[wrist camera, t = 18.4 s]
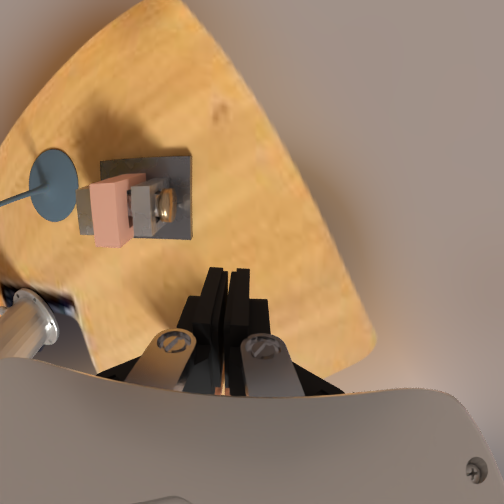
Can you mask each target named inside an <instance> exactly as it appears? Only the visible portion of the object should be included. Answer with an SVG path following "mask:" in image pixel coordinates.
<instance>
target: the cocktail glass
mask: <svg viewBox="0 0 504 504" xmlns="http://www.w3.org/2000/svg"><path fill="white" fill-rule="evenodd" d="M76 189H78V177H77V173H76V169H75V167H74V165H73V163H72V161H71V159H70V158H69V157H68V156H67V155H66V154H65V153H64V152H62V151H60V150H55V149H53V150H47V151H45V152H43V153H42V154H41V155H40V156H39V157H38V158H37V159H36V161H35V162H34V164H33V167H32V169H31V173H30V178H29V191H27V192H24V193H21V194H18V195H16V196H13V197H10V198H8V199H5V200H3V201H0V207H1V206H3V205H6V204H9V203H11V202H14V201H17V200H20V199H23V198H25V197H28V196H31V200H32V203H33V205H34V207H35V209H36V210H37V212H38V213H39V214H40V215H41V216H42V217H43V218H44V219H46V220H48V221H52V222H58V221H61V220H63V219H65V218H66V217H67V216H68V215H69V214H70V213H71V212H72V210H73V209H74V206H75V204H76V191H75V190H76Z"/></svg>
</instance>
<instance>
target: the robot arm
mask: <svg viewBox="0 0 504 504" xmlns="http://www.w3.org/2000/svg"><path fill="white" fill-rule="evenodd" d="M249 281H250V269H241V268H237V272H232V273H231V279H230V285H229V292H228V271H223V268H217V267H210V268H209V271H208V274H207V277H206V280H205V283H204V286H203V289H202V292H201V295H200V296H189V297H188V299H187V302H186V304H185V307H184V309H183V312H182V314H181V317H180V320H179V322H178V325H177V328H173V329H167V330H164V331H162V332H160V333H158V334H157V335H156V336H155V337H154V338H153V340H152V341H151V343H150V344H149V345H148V347H147V348H146V350H145V351H144V353H143V354H142V356H139V357H137V358H135V359H132V360H130V361H127V362H125V363H123V364H120V365H118V366H115V367H113V368H110V369H108V370H105V371H103V372H101V373H99V374H97V375H96V376H95V375H91V374H87V373H82V372H79V371H75V370H72V369H68V368H65V367H61V366H57V365H54V364H50V363H47V362H43V361H39V360H34V359H32V357H33V356H34V355H35V354H36V352H37V351H38V350H39V349H40V347H41V346H42V345H43V344H47V345H51V344H53V343H55V342H56V340H57V339H58V336H59V328H58V324H57V321H56V318H55V316H54V314H53V312H52V311H51V309H50V308H49V306H48V305H47V304H46V302H45V301H44V300H43V299H42V298H41V297H40V296H39V295H38V294H36V293H35V292H33V291H32V290H30V289H27V288H22V289H19V290H18V291H17V292H16V293H15V294H14V297H13V305H12V306H11V307H8V308H7V307H4V306H0V315H2V316H1V317H0V504H504V481H503V478H502V476H501V473H500V471H499V468H498V466H497V463H496V461H495V459H494V457H493V454H492V452H491V450H490V448H489V446H488V444H487V442H486V440H485V438H484V437H483V435H482V433H481V431H480V429H479V428H478V426H477V425H476V423H475V421H474V420H473V418H472V417H471V415H470V414H469V412H468V411H467V410H466V408H465V407H464V406H463V405H462V404H461V403H460V402H459V401H458V400H457V399H456V398H455V397H453V396H451V395H450V394H448V393H445V392H442V391H438V390H433V389H424V388H396V389H386V390H377V391H367V392H356V393H354V392H353V393H348V394H345V393H344V392H343V391H342V390H340V389H339V388H337V387H335V386H334V385H332V384H330V383H328V382H326V381H325V380H323V379H321V378H319V377H318V376H316V375H314V374H312V373H311V372H309V371H307V370H306V369H304V368H302V367H300V366H299V365H297V364H295V363H294V362H292V360H291V358H290V355H289V353H288V350H287V347H286V345H285V343H284V342H283V341H282V340H281V339H280V338H278V337H276V336H274V335H271V333H270V322H269V311H268V300H267V299H249ZM223 365H224V372H225V388H229V390H230V395H231V396H225V395H215V388H216V387H219V388H221V382H222V373H223Z"/></svg>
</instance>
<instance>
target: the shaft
mask: <svg viewBox="0 0 504 504" xmlns="http://www.w3.org/2000/svg"><path fill="white" fill-rule="evenodd" d="M127 207H128V216H132V202H131V194H127ZM176 211H177V196H176V191H175V189H174V188H163V189H162V190H161V192H160V194H155V213H156V216H159V218H160V220H161V222H173V221H174V219H175V216H176Z"/></svg>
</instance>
